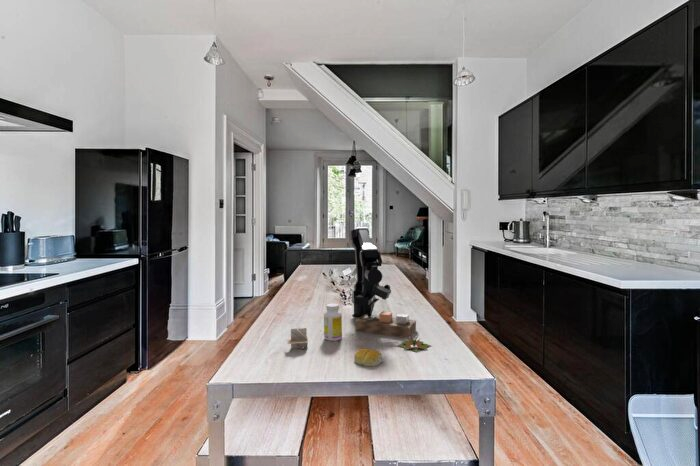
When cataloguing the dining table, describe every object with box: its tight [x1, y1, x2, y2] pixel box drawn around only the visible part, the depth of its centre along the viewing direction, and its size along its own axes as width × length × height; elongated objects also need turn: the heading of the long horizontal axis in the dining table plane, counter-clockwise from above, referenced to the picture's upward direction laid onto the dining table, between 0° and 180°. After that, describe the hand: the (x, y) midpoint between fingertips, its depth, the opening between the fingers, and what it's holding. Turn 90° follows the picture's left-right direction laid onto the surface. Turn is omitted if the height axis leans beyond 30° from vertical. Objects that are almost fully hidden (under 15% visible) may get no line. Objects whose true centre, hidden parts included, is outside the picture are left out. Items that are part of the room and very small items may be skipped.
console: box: [355, 314, 417, 339], centre depth 155 cm, size 22×10×4 cm, turn 65°
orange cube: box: [378, 311, 393, 323], centre depth 155 cm, size 4×4×4 cm
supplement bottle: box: [323, 303, 343, 342], centre depth 146 cm, size 7×7×13 cm
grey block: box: [395, 313, 410, 325], centre depth 152 cm, size 4×4×4 cm
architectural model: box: [287, 327, 309, 350], centre depth 135 cm, size 3×7×7 cm, turn 99°
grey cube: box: [363, 315, 376, 321], centre depth 158 cm, size 4×4×4 cm
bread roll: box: [353, 347, 384, 367], centre depth 125 cm, size 8×9×4 cm
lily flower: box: [396, 333, 432, 353], centre depth 138 cm, size 12×12×5 cm
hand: (369, 316), depth 158 cm, fingers closed, pressing on grey cube
